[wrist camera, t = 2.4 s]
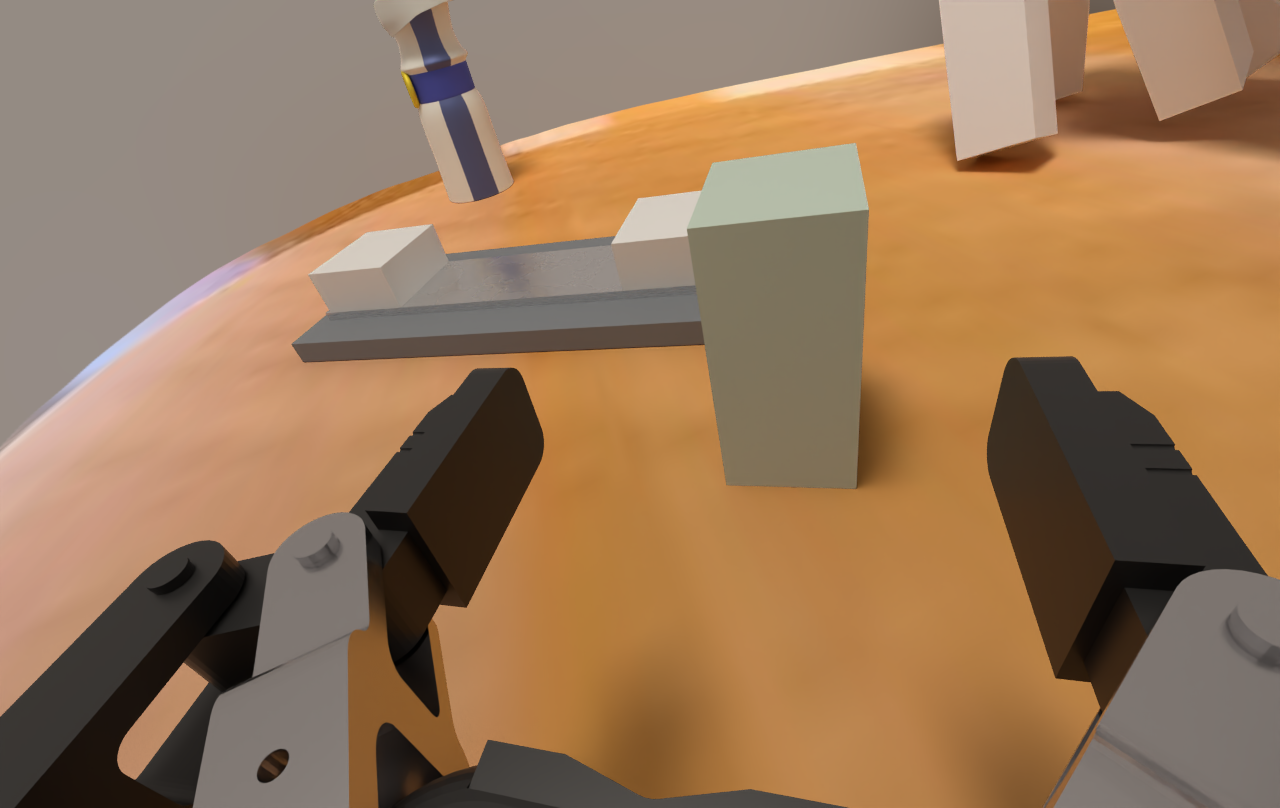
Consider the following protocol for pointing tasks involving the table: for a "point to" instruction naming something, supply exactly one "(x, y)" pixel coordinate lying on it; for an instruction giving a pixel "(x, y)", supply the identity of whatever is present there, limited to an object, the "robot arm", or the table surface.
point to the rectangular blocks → (411, 256)
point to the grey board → (510, 324)
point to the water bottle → (446, 98)
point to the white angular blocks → (1055, 57)
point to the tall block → (784, 313)
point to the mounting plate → (521, 284)
